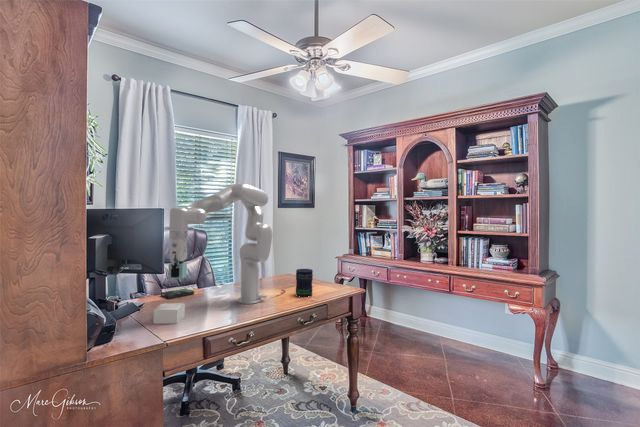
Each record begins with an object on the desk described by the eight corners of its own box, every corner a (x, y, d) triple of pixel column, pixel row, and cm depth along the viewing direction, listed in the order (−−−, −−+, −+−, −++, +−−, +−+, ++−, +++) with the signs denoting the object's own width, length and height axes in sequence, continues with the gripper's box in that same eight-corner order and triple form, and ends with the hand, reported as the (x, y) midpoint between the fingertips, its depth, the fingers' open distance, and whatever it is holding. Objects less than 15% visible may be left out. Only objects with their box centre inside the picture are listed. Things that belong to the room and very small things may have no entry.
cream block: (184, 316, 156) (185, 303, 155) (177, 323, 146) (177, 309, 146) (162, 316, 155) (162, 303, 155) (153, 323, 145) (153, 309, 145)
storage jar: (308, 298, 191) (309, 272, 191) (292, 296, 194) (293, 270, 194) (314, 294, 200) (315, 269, 200) (299, 292, 204) (300, 268, 204)
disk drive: (169, 300, 183) (194, 295, 195) (169, 295, 183) (194, 290, 195) (160, 297, 190) (185, 292, 201) (160, 292, 190) (185, 287, 201)
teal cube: (186, 276, 153) (186, 262, 153) (182, 278, 147) (182, 264, 147) (172, 275, 153) (173, 262, 153) (168, 278, 147) (168, 264, 147)
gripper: (180, 237, 142) (179, 279, 142) (192, 234, 159) (191, 272, 159) (162, 236, 141) (161, 279, 141) (176, 234, 158) (175, 272, 158)
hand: (177, 275), depth 150 cm, fingers closed on teal cube, 6 cm apart
